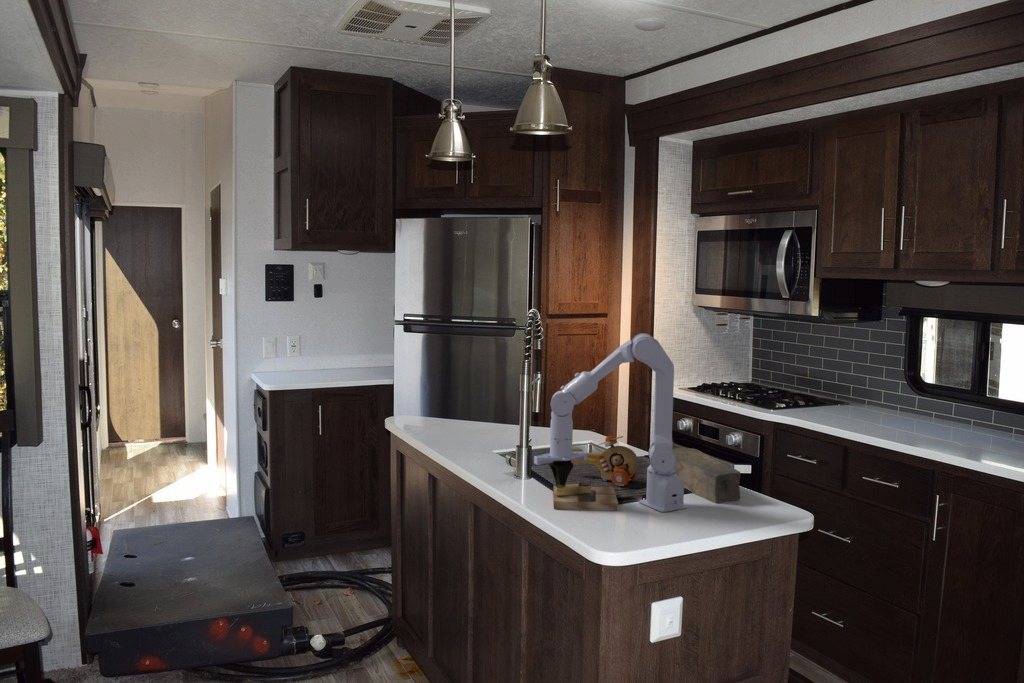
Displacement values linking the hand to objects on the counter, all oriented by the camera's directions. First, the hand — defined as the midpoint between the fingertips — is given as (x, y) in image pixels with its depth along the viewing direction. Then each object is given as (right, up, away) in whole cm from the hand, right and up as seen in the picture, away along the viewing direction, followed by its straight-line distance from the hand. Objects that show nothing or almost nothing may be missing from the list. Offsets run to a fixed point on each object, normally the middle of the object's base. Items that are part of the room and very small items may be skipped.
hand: (560, 489), depth 214 cm
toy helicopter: (+14, -1, +20) cm, 24 cm away
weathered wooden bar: (+39, -3, +13) cm, 41 cm away
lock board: (+6, -3, 0) cm, 7 cm away
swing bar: (+3, -1, -1) cm, 4 cm away
